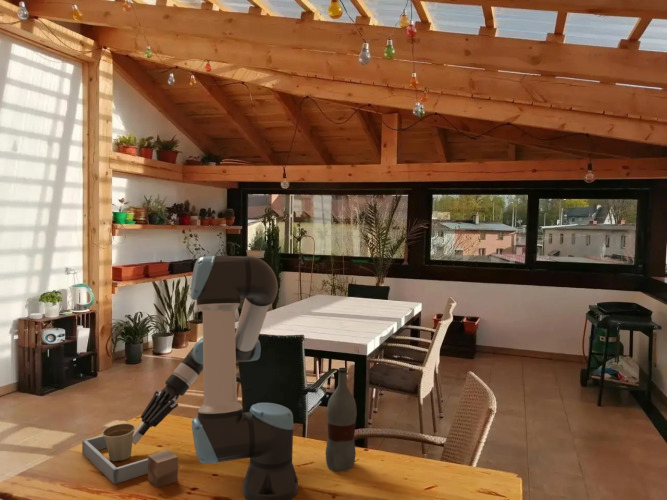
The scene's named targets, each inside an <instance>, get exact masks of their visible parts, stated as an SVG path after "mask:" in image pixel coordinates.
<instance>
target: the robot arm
mask: <svg viewBox="0 0 667 500" xmlns="http://www.w3.org/2000/svg"><path fill="white" fill-rule="evenodd" d="M190 283H191V284H190V285H191V286H190V298H191V300H193V301H196V307H197V308H198V309H199V310H200V311H201V313H202V337H201V338H200V339H199V340H198V341H197V342H196V343H195V344H194V346H193V347H192V348H191V350H189V352H188V353H187V355H186V356H185V357H184V359H182V361H180V363H179V364H178V365H177V367H176V368H175V369H174V370H173V373H172V374H170V375H169V377H168V378H167V379H166V380H165V383H164V384H165V387H164V388H162V390H161V391H158V390H155V392H154V394H153V396H152V398H151V399H150V401H149V402H148V404H147V405H146V408H145V409H144V410H143V412H142V414H141V415H140V418H141V422H140V423H139V424H138V425H137V426H136V427H135V430H134V434H133V438H132V445H135V446H136V445H137V444H139V441H140V440H141V439H142V437H143V436H144V435H145V434H146V433H147V432H148V430H149V429H150V428H152V427H154V428H156V427H157V426H158V425H159V424H160V423H161V422H162V421H163V420H164V419H165V418H166V417H167V416H168V415H169V414H170V413H171V412H172V411H173V410H175V409H176V408H177V407H178V406H179V403H178V402H177V400H178V399H179V396H181V397H182V396H184V395H185V394H186V392H187V391H189V389H190V386H192V384H194V382H195V381H196V380H197V378H198V377H199V376H200V374H201V373H202V372H203V375H202V376H203V379H202V380H203V404H202V405H201V406H200V407H199V409H198V410H197V416H196V417H194V418H192V420H191V431H192V438H193V444H194V449H195V455H196V457H197V460H198V461H199V463H201V464H204V465H208V464H217V465H218V464H219V463H224V462H231V461H238V460H244V459H249V463H248V464H249V465H248V467H247V471H246V474H245V478H244V479H243V482H242V495H243V496H244V498H246V499H247V500H292V499H293V498H295V496H297V494H298V491H299V480H298V476H297V474H296V473H297V472H296V470H295V466H294V463H293V449H294V448H293V445H294V443H293V442H294V428H295V427H294V415H293V412H292V410H291V409H289V408H288V407H286V406H284V405H281V404H278V403H273V402H258V403H255V404H254V403H253V404H252V405H251V406H250V409H249V411H248V412H247V411H246V412H243V411H244V410H243V408H244V407H243V406H242V405H241V403H240V402H239V401H238V399H237V395H238V394H237V393H238V392H237V363H243V362H244V363H245V362H247V363H248V362H254V361H258V360H259V359H260V357H261V352H262V351H261V350H262V349H261V347H262V346H261V342H260V340H259V336H260V333H261V332H262V331H261V330H262V327H263V325H264V322H265V319H266V316H267V312H268V310H269V308H270V305H272V304H273V303H274V302H275V300H276V298H277V294H278V291H279V290H278V289H279V286H278V285H279V283H278V279H277V276H276V273H275V272H274V270H273V269H272V267H271V266H270V265H269V264H268V263H267V262H266V261H264V260H263V259H261V258H259V257H255V256H251V255H247V256H237V255H234V256H233V255H232V256H228V255H211V256H209V255H208V256H201V257H199V258H198V259H196V261H195V263H194V267H193V271H192V275H191V282H190ZM241 299H244V301H243V305H242V308H241V311H240V312H241V313H240V314H239V315H240V316H239V319H238V322H237V327H236V310H238V308H239V307H240V306H241Z"/></svg>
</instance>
